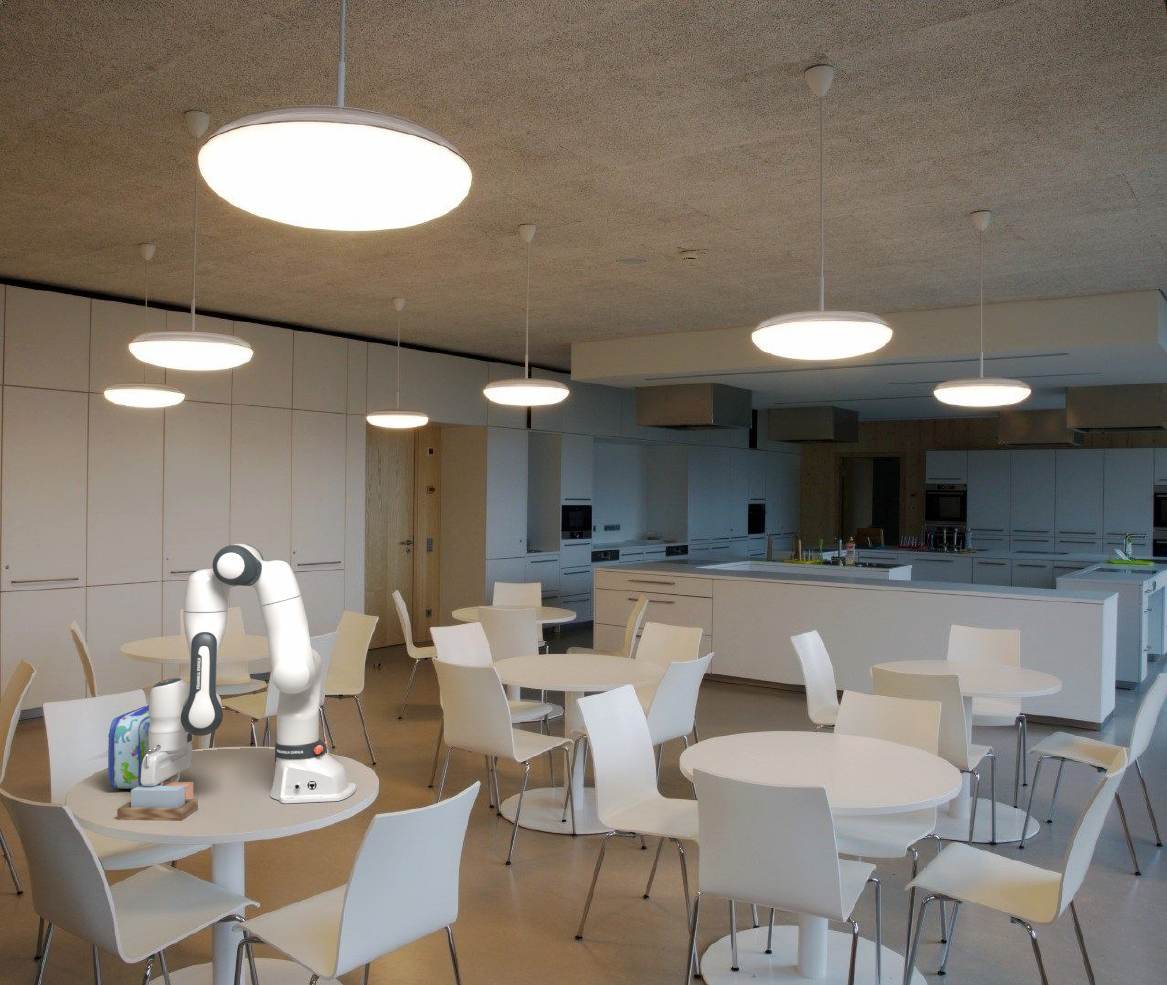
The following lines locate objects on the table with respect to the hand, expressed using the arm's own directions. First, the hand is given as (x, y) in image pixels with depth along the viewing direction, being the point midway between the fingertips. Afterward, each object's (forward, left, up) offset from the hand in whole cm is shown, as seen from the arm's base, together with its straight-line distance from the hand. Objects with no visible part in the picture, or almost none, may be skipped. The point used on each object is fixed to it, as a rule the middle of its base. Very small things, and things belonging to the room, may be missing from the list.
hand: (166, 793), depth 246 cm
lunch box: (+17, -19, -2) cm, 26 cm away
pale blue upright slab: (-3, +10, -2) cm, 11 cm away
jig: (-3, +10, -2) cm, 11 cm away
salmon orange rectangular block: (0, 0, -2) cm, 2 cm away
